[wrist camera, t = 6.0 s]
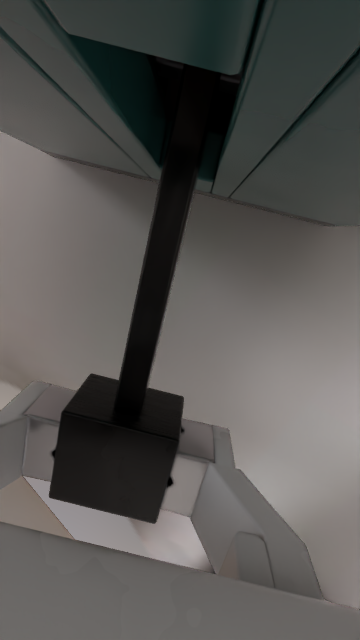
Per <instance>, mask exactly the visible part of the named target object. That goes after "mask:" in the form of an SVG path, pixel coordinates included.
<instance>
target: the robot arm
mask: <svg viewBox="0 0 360 640" xmlns="http://www.w3.org/2000/svg"><path fill="white" fill-rule="evenodd" d="M76 392H77V391H75V390H71V389H67V388H64V387H60V386H56V385H52V384H49V383H45V382H41V381H37V380H36V381H32V382H31V383H30V384H29V385H28V386H27V387H26V388H25V389H23V390H22V391H21V392H20V393H19V394H18V395H17V396H16V397H15V398H14V399H13V400H12V401H11V402H9V403H8V404H7V405H6V406H5V407H4V408H3V409H2V410H0V490H1V489H2V488H4V487H5V486H7V485H9V484H10V483H12V482H13V481H15V480H17V479H18V478H20V476H21V475H22V476H27V477H31V478H36V479H40V480H45V481H50V482H51V478H52V471H53V465H54V458H55V451H56V444H57V438H58V431H59V424H60V417H61V412H62V411H63V409H64V408H65V407H66V405H67V404H68V403H69V401H70V400H71V399H72V397H73V396H74V395H75V393H76ZM160 509H163V510H166V511H170V512H174V513H177V514H181V515H184V516H188V517H191V518H190V519H191V522H192V524H193V526H194V528H195V530H196V533H197V535H198V537H199V539H200V541H201V543H202V546H203V548H204V550H205V552H206V554H207V556H208V559H209V561H210V563H211V565H212V567H213V569H214V572H215V574H213V573H209V572H205V571H201V570H196V569H192V568H188V567H184V566H180V565H176V564H172V563H168V562H164V561H160V560H156V559H152V558H148V557H144V556H140V555H136V554H132V553H128V552H124V551H119V550H115V549H111V548H107V547H103V546H99V545H94V544H91V543H87V542H83V541H78V540H74V539H70V538H66V537H62V536H58V535H54V534H50V533H46V532H42V531H37V530H33V529H29V528H25V527H21V526H17V525H13V524H9V523H5V522H1V521H0V640H360V609H356V608H352V607H348V606H344V605H340V604H336V603H332V602H328V601H324V599H323V596H322V592H321V589H320V586H319V583H318V580H317V577H316V574H315V571H314V568H313V565H312V562H311V559H310V556H309V553H308V550H307V547H306V545H305V544H304V543H303V542H302V541H301V540H300V538H299V537H298V536H297V535H296V534H295V533H294V531H293V530H292V529H291V528H290V527H289V526H288V524H287V523H286V522H285V521H284V520H283V519H282V517H281V516H280V515H279V514H278V513H277V512H276V510H275V509H274V508H273V507H272V506H271V505H270V504H269V502H268V501H267V500H266V499H265V498H264V497H263V495H262V494H261V493H260V492H259V491H258V490H257V488H256V487H255V486H254V485H253V484H252V483H251V481H250V480H249V479H248V478H247V477H246V476H245V474H244V473H243V472H242V471H241V470H239V469H235V462H234V456H233V449H232V443H231V436H230V430H229V429H228V428H224V427H220V426H215V425H209V424H205V423H200V422H196V421H192V420H187V419H183V418H182V425H181V435H180V443H179V446H178V450H177V453H176V457H175V460H174V463H173V467H172V470H171V474H170V477H169V481H168V484H167V488H166V491H165V495H164V498H163V501H162V505H161V508H160Z"/></svg>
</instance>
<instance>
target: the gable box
mask: <svg viewBox="0 0 360 640" xmlns="http://www.w3.org/2000/svg"><path fill="white" fill-rule="evenodd" d="M0 521H1V522H5V523H9V524H13V525H17V526H21V527H25V528H29V529H33V530H37V531H42V532H46V533H50V534H54V535H58V536H62V537H66V538H70V539H74V538H73V537H72V536H71V534H70V533H69V532H68V531H67V529H66V528H65V527H64V526H63V525H62V523H61V522H60V521H59V520H58V518H57V517H56V516H55V515H54V514H53V512H52V511H51V510H50V509H49V507H48V506H47V505H46V504H45V503H44V501H43V500H42V499H41V498H40V496H39V495H38V494H37V493H36V492H35V490H34V489H33V488H32V487H31V486H30V484H29V483H28V482H27V481H26V479H25V478H24V477H23V476H22V475H21V476H20V478H18V479H17V480H15V481H13V482H12V483H10V484H9V485H7V486H5V487H4V488H2V489H1V490H0ZM74 540H75V539H74Z"/></svg>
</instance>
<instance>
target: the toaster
mask: <svg viewBox="0 0 360 640" xmlns="http://www.w3.org/2000/svg"><path fill="white" fill-rule="evenodd" d="M155 56H158V57H162V58H165V59H169V60H173V61H177V62H181V63H185V64H189V65H193V66H197V67H200V68H204V69H208V70H212V71H216V72H220V73H224V74H228V75H235V74H239V73H240V72H241V70H242V69H243V71H242V75H241V79H240V83H239V86H238V90H237V94H236V95H233V94H229V93H225V92H221V91H219V93H218V97H217V101H216V105H215V110H214V114H213V118H212V122H211V126H210V131H209V135H208V139H207V143H206V147H205V152H204V156H203V160H202V164H201V168H200V173H199V177H198V181H197V185H196V189H195V193H199V194H203V195H207V196H211V197H215V198H219V199H222V200H226V201H230V202H234V203H238V204H242V205H246V206H250V207H254V208H258V209H262V210H266V211H270V212H273V213H277V214H281V215H285V216H289V217H293V218H297V219H301V220H305V221H309V222H313V223H317V224H321V225H324V226H360V0H0V131H2V132H4V133H6V134H8V135H10V136H12V137H14V138H16V139H18V140H20V141H23V142H25V143H27V144H29V145H31V146H33V147H35V148H37V149H39V150H41V151H43V152H45V153H47V154H49V155H51V156H54V157H58V158H62V159H66V160H69V161H73V162H77V163H81V164H85V165H89V166H93V167H97V168H101V169H105V170H109V171H113V172H117V173H120V174H124V175H128V176H132V177H136V178H140V179H144V180H148V181H152V182H156V183H159V182H160V177H161V172H162V167H163V162H164V158H165V153H166V148H167V143H168V138H169V133H170V128H171V123H172V118H173V114H174V109H175V104H176V99H177V94H178V89H179V84H180V81H178V80H174V79H170V78H167V77H163V76H160V75H158V71H157V68H156V64H155Z"/></svg>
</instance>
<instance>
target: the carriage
mask: <svg viewBox="0 0 360 640" xmlns="http://www.w3.org/2000/svg"><path fill="white" fill-rule="evenodd" d="M155 64H156V68H157V71H158V75H160V76H163V77H167V78H170V79H174V80H178V81H180V84H179V89H178V94H177V99H176V104H175V109H174V114H173V118H172V123H171V128H170V133H169V138H168V143H167V148H166V153H165V158H164V162H163V167H162V172H161V177H160V182H159V187H158V192H157V197H156V201H155V206H154V211H153V216H152V221H151V226H150V231H149V236H148V240H147V245H146V250H145V255H144V260H143V265H142V270H141V275H140V279H139V284H138V289H137V294H136V299H135V304H134V309H133V314H132V318H131V323H130V328H129V333H128V338H127V343H126V348H125V353H124V357H123V362H122V367H121V372H120V377H119V380H116V379H112V378H108V377H104V376H100V375H96V374H90V375H89V376H88V378H87V379H86V380H85V382H84V383H83V384H82V386H81V387H80V388H79V389H78V391H77V392H76V393H75V395H74V396H73V397H72V399H71V400H70V401H69V403H68V404H67V405H66V407H65V408H64V409H63V411H62V412H61V417H60V424H59V431H58V438H57V444H56V451H55V458H54V465H53V471H52V478H51V485H50V492H49V497H50V498H52V499H56V500H60V501H64V502H68V503H72V504H76V505H80V506H85V507H88V508H92V509H96V510H100V511H104V512H109V513H112V514H117V515H120V516H124V517H129V518H133V519H137V520H141V521H145V522H149V523H153V524H155V523H156V522H157V519H158V515H159V512H160V508H161V505H162V501H163V498H164V495H165V491H166V488H167V484H168V481H169V477H170V474H171V470H172V467H173V463H174V460H175V457H176V453H177V450H178V446H179V443H180V435H181V425H182V415H183V405H184V397H183V396H179V395H175V394H171V393H167V392H163V391H159V390H155V389H151V388H148V386H149V382H150V378H151V374H152V370H153V365H154V361H155V357H156V353H157V349H158V344H159V340H160V336H161V332H162V328H163V323H164V319H165V315H166V311H167V307H168V303H169V298H170V294H171V290H172V286H173V282H174V277H175V273H176V269H177V265H178V261H179V256H180V252H181V248H182V244H183V240H184V235H185V231H186V227H187V223H188V219H189V214H190V210H191V206H192V202H193V198H194V193H195V189H196V185H197V181H198V177H199V173H200V168H201V164H202V160H203V156H204V152H205V147H206V143H207V139H208V135H209V131H210V126H211V122H212V118H213V114H214V110H215V105H216V101H217V97H218V93H219V91H221V92H225V93H229V94H233V95H236V94H237V90H238V86H239V83H240V79H241V75H242V71H243V69H242V70H241V72H240V73H239V74H235V75H228V74H224V73H220V72H216V71H212V70H208V69H204V68H200V67H197V66H193V65H189V64H185V63H181V62H177V61H173V60H169V59H165V58H162V57H158V56H155Z"/></svg>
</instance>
